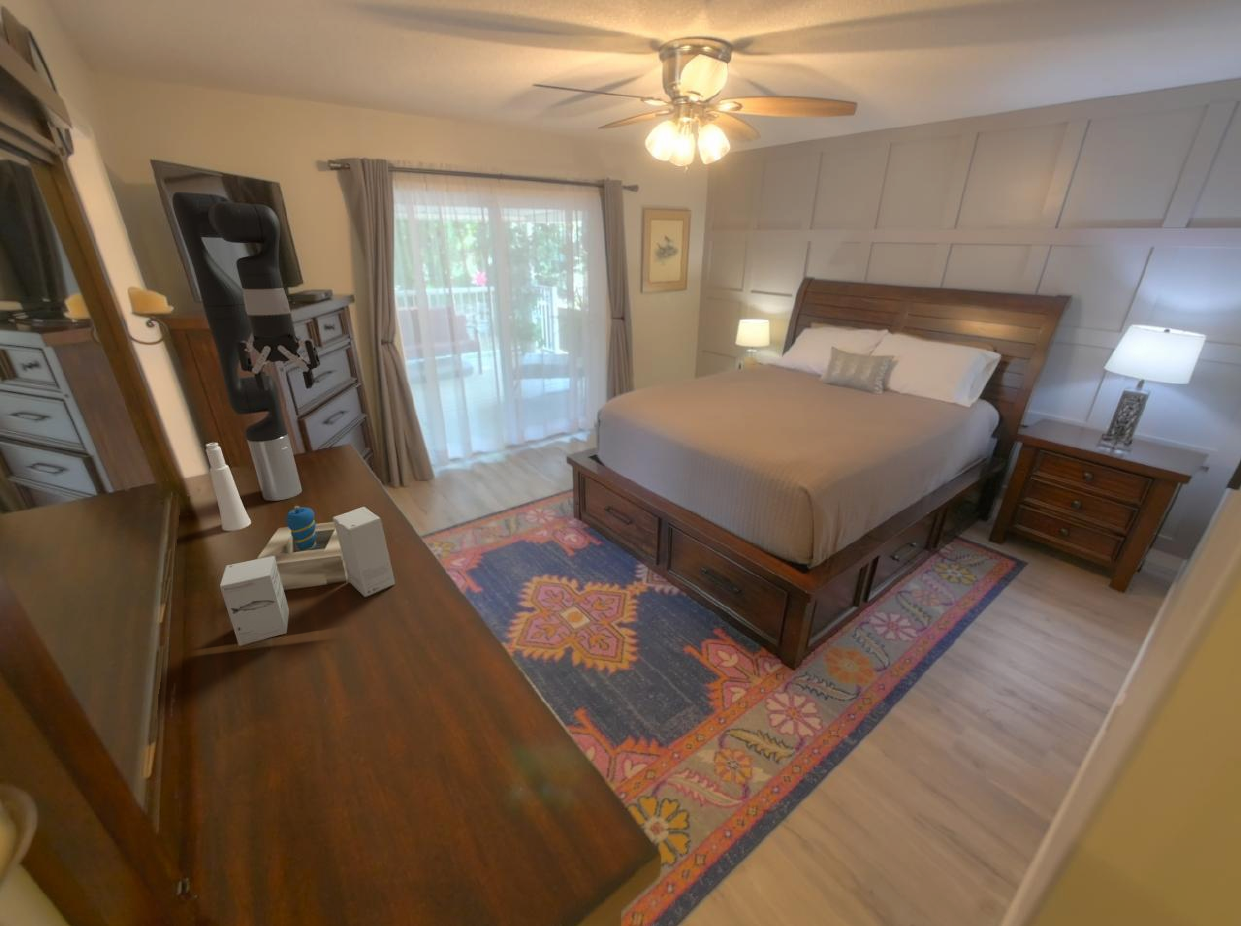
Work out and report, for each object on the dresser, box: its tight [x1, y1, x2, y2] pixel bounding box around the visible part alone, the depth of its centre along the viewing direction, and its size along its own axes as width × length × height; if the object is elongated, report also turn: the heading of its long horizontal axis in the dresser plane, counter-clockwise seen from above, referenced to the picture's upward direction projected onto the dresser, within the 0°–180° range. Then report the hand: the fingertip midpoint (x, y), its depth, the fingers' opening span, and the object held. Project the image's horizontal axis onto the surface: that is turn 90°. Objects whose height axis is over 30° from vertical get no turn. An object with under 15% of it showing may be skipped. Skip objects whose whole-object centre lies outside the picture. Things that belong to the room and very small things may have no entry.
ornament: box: [286, 503, 317, 551], centre depth 108 cm, size 5×5×15 cm
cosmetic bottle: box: [205, 442, 252, 532], centre depth 123 cm, size 6×6×22 cm
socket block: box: [256, 521, 349, 591], centre depth 110 cm, size 16×16×6 cm
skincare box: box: [332, 506, 396, 598], centre depth 102 cm, size 8×7×16 cm
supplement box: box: [219, 556, 290, 647], centre depth 90 cm, size 7×7×13 cm
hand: (287, 388), depth 111 cm, fingers open, 8 cm apart
